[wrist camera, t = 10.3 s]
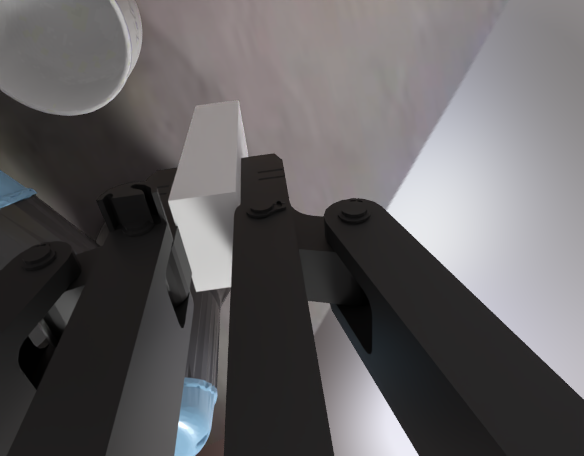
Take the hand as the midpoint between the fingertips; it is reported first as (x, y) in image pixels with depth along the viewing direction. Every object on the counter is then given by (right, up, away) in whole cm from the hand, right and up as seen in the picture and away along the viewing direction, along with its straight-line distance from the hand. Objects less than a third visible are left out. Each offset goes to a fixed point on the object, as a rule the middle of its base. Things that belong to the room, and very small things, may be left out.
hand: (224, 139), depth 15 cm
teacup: (-16, +15, +18) cm, 28 cm away
